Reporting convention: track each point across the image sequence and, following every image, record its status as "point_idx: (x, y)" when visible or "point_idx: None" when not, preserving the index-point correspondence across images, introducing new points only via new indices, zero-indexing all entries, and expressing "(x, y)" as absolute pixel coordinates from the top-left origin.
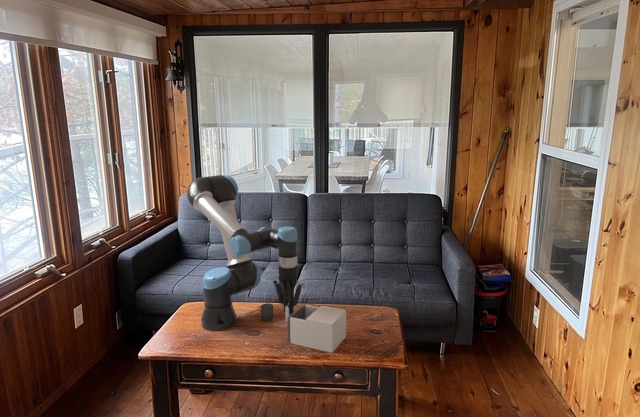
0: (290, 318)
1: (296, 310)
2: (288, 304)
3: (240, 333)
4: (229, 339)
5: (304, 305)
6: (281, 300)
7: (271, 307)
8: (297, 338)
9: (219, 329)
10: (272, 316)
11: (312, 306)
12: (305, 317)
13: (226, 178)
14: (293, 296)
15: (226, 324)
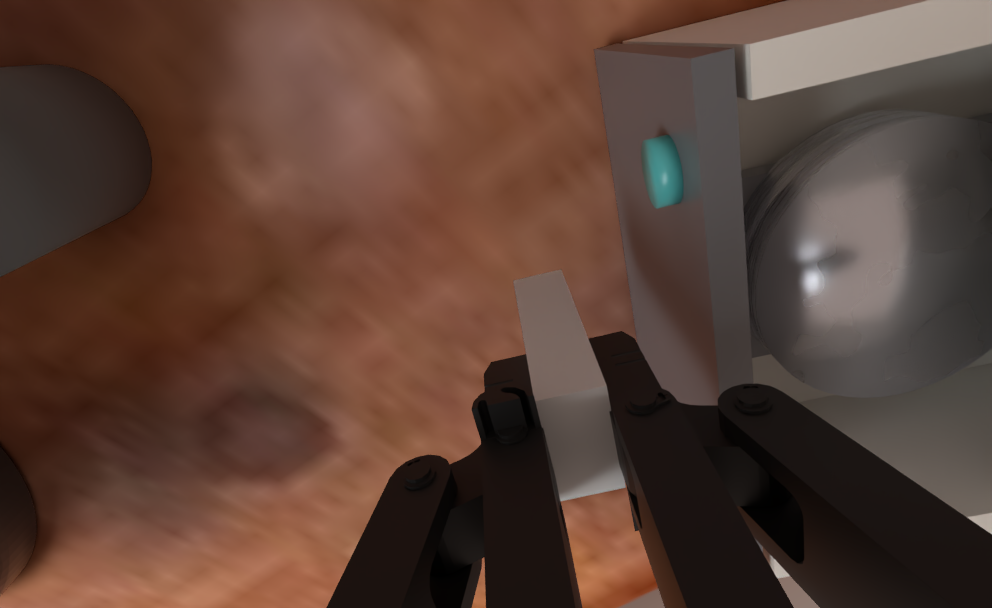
0: (785, 576)
1: (719, 364)
2: (548, 417)
3: (196, 502)
4: (228, 594)
5: (730, 95)
6: (471, 592)
7: (29, 182)
8: None
9: (21, 568)
10: (119, 144)
11: (922, 24)
12: (803, 237)
13: None
14: (751, 551)
15: (7, 554)
